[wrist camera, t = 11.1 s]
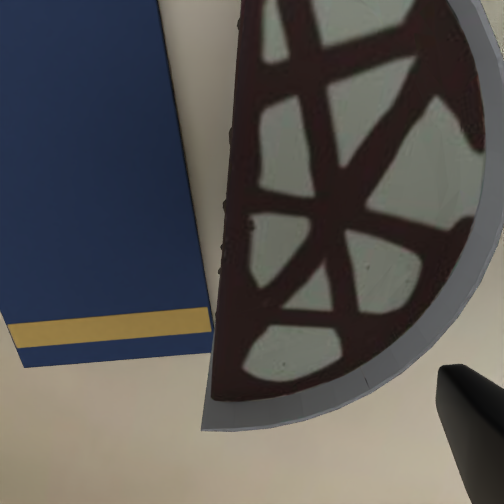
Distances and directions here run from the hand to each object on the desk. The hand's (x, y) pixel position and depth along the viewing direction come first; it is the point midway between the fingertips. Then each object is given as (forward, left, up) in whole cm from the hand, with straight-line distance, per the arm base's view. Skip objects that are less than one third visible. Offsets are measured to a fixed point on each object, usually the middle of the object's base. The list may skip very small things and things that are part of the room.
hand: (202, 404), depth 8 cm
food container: (+4, +3, -12) cm, 13 cm away
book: (-7, +3, -12) cm, 14 cm away
